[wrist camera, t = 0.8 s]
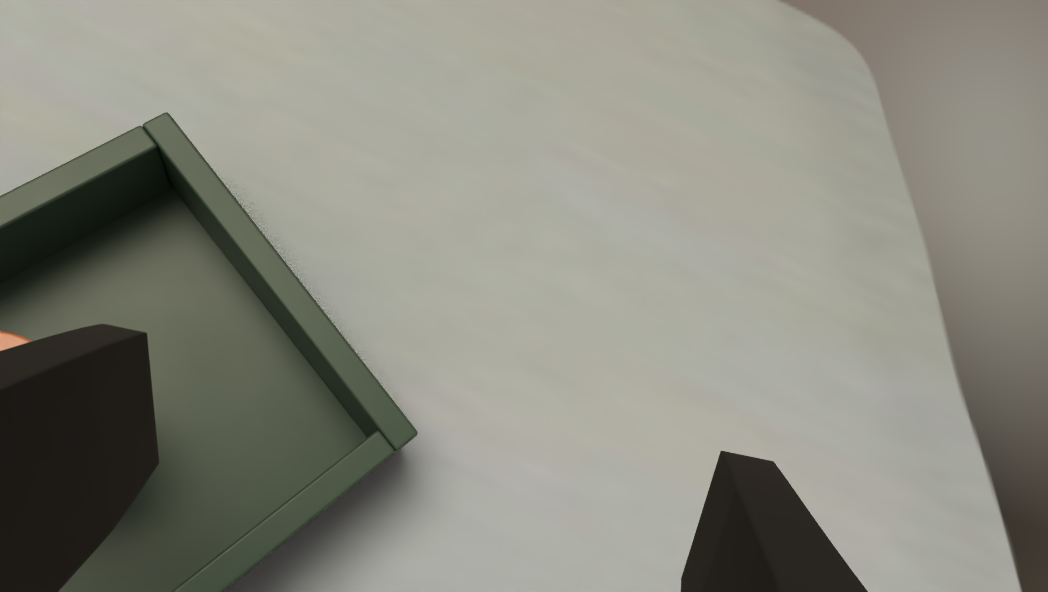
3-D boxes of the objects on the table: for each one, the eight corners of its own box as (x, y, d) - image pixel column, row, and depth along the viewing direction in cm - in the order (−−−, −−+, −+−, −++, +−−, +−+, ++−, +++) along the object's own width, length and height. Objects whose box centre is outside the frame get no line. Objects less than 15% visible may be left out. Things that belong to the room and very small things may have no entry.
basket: (-71, 824, 18) (-148, 892, 15) (-347, 451, 19) (-481, 437, 16) (401, 444, 24) (419, 433, 21) (182, 164, 25) (167, 110, 21)
